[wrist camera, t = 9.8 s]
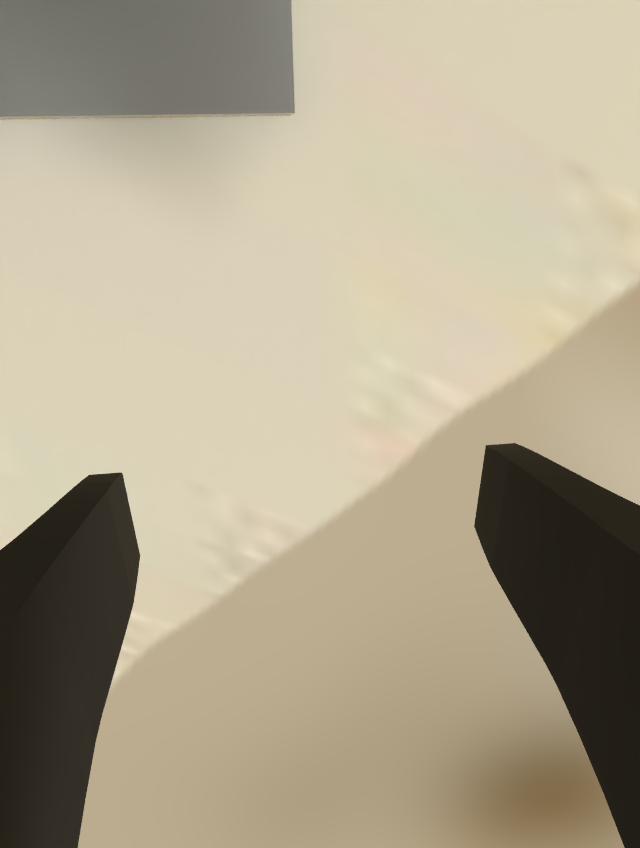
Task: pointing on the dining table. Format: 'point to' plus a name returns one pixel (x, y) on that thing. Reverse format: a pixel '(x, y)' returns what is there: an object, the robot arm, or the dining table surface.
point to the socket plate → (145, 58)
